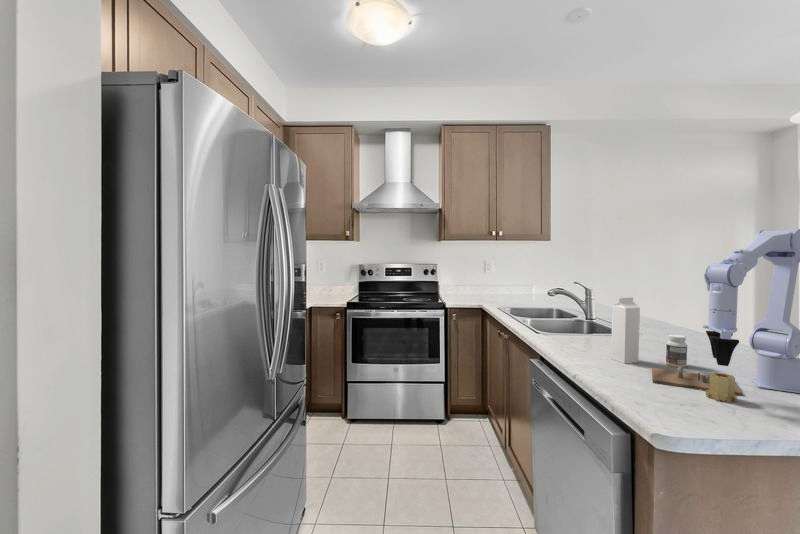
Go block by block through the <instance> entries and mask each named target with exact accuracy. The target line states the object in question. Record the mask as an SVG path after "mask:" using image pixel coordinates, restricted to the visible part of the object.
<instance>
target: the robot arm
mask: <svg viewBox="0 0 800 534" xmlns="http://www.w3.org/2000/svg"><path fill="white" fill-rule="evenodd" d="M752 240H753V241H752V242H751V243H750V244H749V245H748V246H747V247H746V248H745V249H743V248H736V249H735V250H733V252H732V253H731V254H730V255H727V257H724V259H723V260H722V261H720V262H719V263H716V262H715V263H714V262H713V263H712V264H709V265H707V268H706V269H705V272H704V274H703V277H704V280H705V281H704V282H705V283H706V290H707V291H708V293H709V296H708V314H707V315H708V319H707V322H708V323H707V324H702V328H703V329H708V330H705V333H706V335H707V336H708V339H709V342H710V343H709V344H710V348H711V353H712V354H711V355H712V357H713V358H714V359H715V361H716V364H717V365H718V366H722V367H729V365H730V362H731V359H732V355H733V353H734V351H735V349H736V347H738V345H739V343H740V340H739V339H737V338H734V339H733V338H732V336H734V334H735V333H736V332H738V328H737V317H738V316H737V313H738V295H739V293H738V291H739V286H741V285H742V284H744V283H743V282H744V280H745V278H746V276H747V273H749V272H750V271H751V270H752V269H754V268H755V267H756V266H757V265H758V259H760V258H761V257H763V259H765V260H766V261H769V262H771V263H772V265H773V268H772V275H771V281H770V289H769V294H768V300H767V307H766V314H765V318H764V319H762V320H760V321H759V322H756V323H754V325H753V328H752V331H751V333H750V335H749V339H748V343H749V346H750V348H751V349H752V350H754V353H755V354H756V374H755V378H751V381H752V382H753V383H754V385H755V386H756V387H757V388H760V389H767V390H774V391H782V392H790V393H797V394H800V357H799V355H800V329H799V328H798V327H797V326H795V325H794V324H793V323H792V322H791V314H792V309H793V303H794V298H795V297H794V296H795V290H796V283H797V278H798V272H799V271H798V270H799V265H800V228H796V229H779V230H778V229H776V230H775V229H774V230H764V229H761V230H758V231H757V232H756V233H754V235H753V239H752ZM777 331H779V332H777ZM784 332H785V333H784Z"/></svg>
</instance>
